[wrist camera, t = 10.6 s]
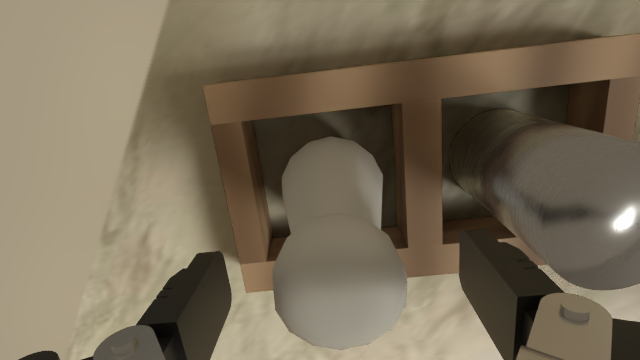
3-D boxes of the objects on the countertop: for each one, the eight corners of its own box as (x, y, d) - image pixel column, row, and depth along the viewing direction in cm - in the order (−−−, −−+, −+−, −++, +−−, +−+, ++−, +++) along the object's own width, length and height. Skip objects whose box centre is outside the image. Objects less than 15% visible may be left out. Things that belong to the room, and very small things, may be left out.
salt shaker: (391, 193, 23) (469, 345, 11) (312, 230, 24) (302, 409, 12) (351, 112, 21) (391, 181, 9) (269, 154, 22) (203, 270, 10)
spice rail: (603, 36, 20) (650, 32, 17) (579, 234, 24) (613, 258, 21) (218, 82, 21) (202, 85, 18) (254, 266, 25) (245, 292, 22)
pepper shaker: (543, 103, 21) (722, 137, 12) (536, 191, 23) (687, 282, 14) (449, 114, 22) (549, 156, 12) (449, 200, 23) (536, 296, 14)
